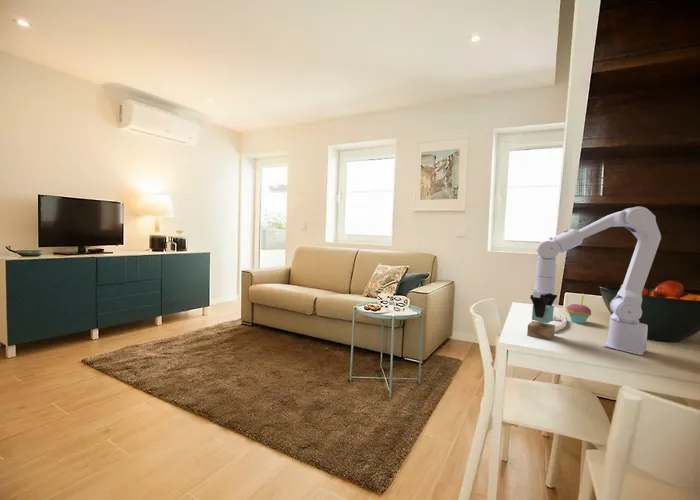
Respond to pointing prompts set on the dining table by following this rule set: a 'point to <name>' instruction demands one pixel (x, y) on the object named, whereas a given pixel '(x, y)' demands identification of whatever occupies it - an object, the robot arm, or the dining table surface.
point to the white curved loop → (560, 324)
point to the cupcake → (578, 312)
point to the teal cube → (547, 315)
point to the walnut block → (541, 330)
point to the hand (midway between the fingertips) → (542, 315)
